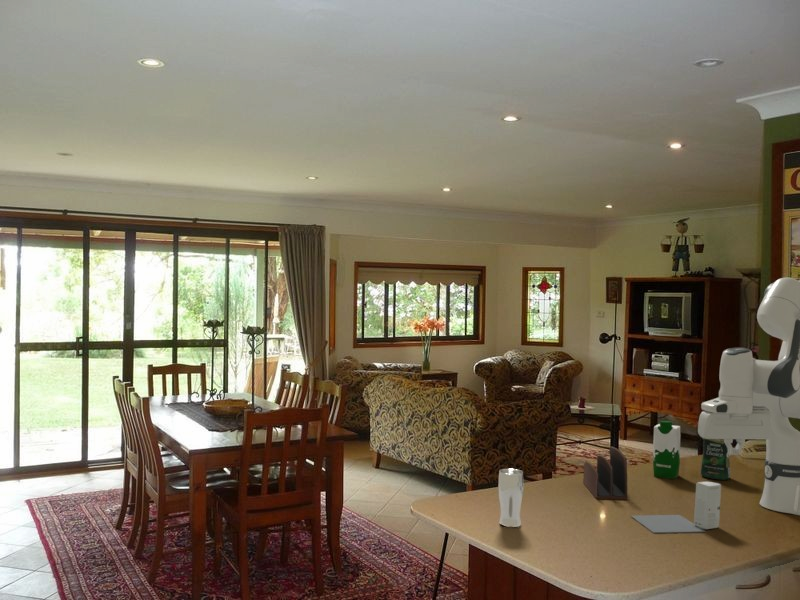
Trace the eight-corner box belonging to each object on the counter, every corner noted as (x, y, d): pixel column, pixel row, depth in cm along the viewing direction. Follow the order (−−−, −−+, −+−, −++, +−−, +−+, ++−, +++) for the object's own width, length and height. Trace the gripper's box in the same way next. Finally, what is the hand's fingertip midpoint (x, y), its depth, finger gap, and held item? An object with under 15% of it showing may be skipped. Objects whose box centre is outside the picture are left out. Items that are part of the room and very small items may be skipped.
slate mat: (679, 515, 218) (679, 514, 218) (705, 532, 203) (705, 531, 203) (630, 516, 216) (630, 515, 216) (653, 533, 201) (653, 532, 201)
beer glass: (503, 529, 202) (504, 475, 202) (493, 521, 209) (494, 469, 209) (526, 527, 204) (527, 473, 204) (516, 520, 211) (517, 467, 211)
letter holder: (612, 484, 253) (612, 443, 253) (627, 500, 234) (628, 456, 234) (582, 483, 254) (583, 442, 254) (596, 499, 234) (596, 455, 234)
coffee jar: (698, 477, 264) (699, 425, 264) (704, 473, 271) (705, 422, 270) (726, 482, 258) (727, 429, 258) (732, 477, 265) (733, 426, 265)
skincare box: (706, 530, 204) (709, 486, 204) (692, 525, 208) (695, 482, 207) (719, 527, 207) (722, 484, 207) (705, 522, 211) (708, 480, 211)
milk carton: (650, 476, 264) (651, 421, 264) (656, 471, 272) (657, 417, 272) (676, 480, 260) (677, 423, 259) (681, 475, 267) (682, 420, 267)
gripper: (763, 404, 212) (762, 452, 212) (695, 403, 210) (694, 452, 210) (777, 407, 206) (775, 457, 206) (707, 406, 204) (705, 456, 204)
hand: (734, 454), depth 208 cm, fingers closed
